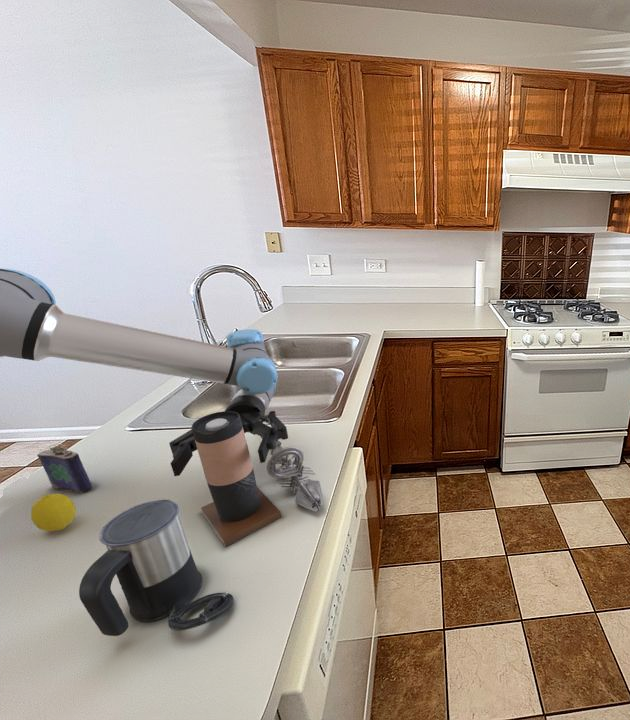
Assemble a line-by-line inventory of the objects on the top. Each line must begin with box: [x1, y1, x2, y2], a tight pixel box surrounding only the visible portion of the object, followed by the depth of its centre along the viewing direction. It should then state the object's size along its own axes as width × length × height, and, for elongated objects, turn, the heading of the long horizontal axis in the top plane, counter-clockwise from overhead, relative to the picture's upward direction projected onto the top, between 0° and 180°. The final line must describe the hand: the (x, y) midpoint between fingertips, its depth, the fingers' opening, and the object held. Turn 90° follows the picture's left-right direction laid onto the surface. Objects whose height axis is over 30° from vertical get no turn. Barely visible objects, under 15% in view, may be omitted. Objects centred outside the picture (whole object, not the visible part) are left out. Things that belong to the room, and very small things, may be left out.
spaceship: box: [259, 436, 324, 512], centre depth 89 cm, size 8×35×8 cm
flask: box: [36, 443, 94, 494], centre depth 85 cm, size 9×3×11 cm, turn 79°
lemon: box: [30, 493, 77, 532], centre depth 74 cm, size 6×6×8 cm
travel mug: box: [191, 410, 260, 522], centre depth 75 cm, size 8×8×20 cm
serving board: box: [200, 486, 282, 548], centre depth 79 cm, size 13×10×2 cm
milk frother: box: [78, 499, 235, 637], centre depth 59 cm, size 14×16×15 cm
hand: (219, 463), depth 71 cm, fingers open, 13 cm apart
